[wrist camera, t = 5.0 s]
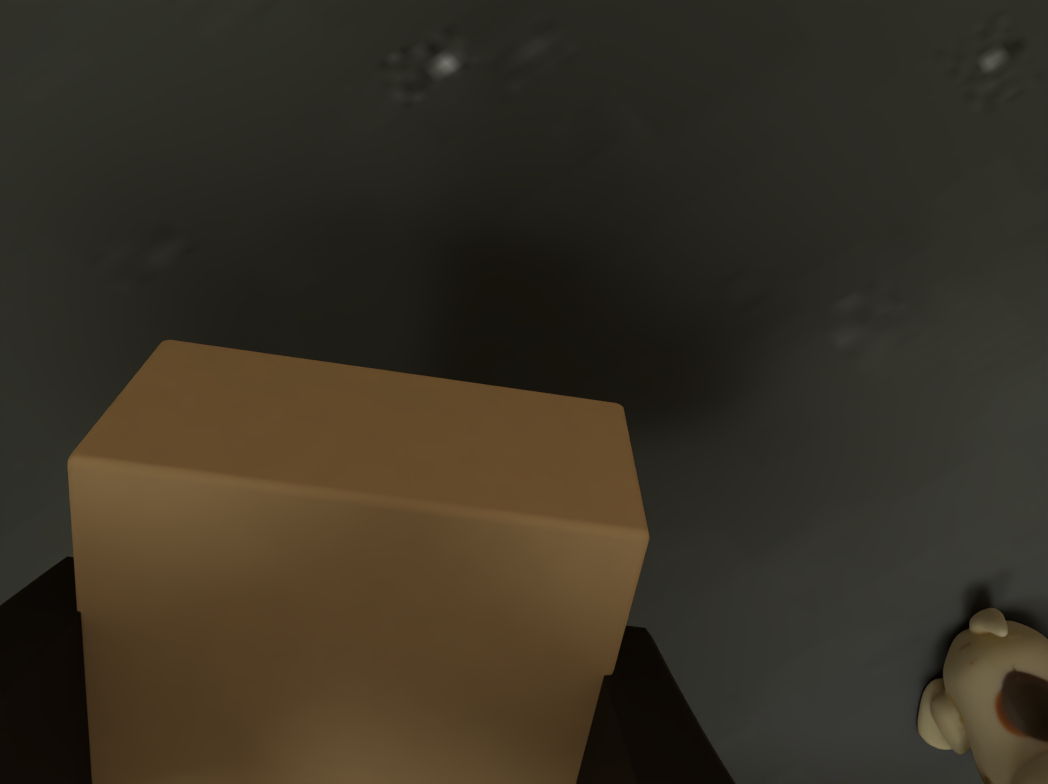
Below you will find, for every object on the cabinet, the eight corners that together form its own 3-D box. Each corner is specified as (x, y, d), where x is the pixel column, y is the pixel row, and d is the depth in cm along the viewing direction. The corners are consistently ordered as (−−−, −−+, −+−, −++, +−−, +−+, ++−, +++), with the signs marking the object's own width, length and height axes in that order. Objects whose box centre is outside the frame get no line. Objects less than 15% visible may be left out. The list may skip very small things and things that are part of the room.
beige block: (535, 781, 13) (537, 959, 11) (167, 740, 13) (93, 915, 11) (625, 401, 11) (653, 535, 8) (162, 334, 10) (61, 458, 8)
